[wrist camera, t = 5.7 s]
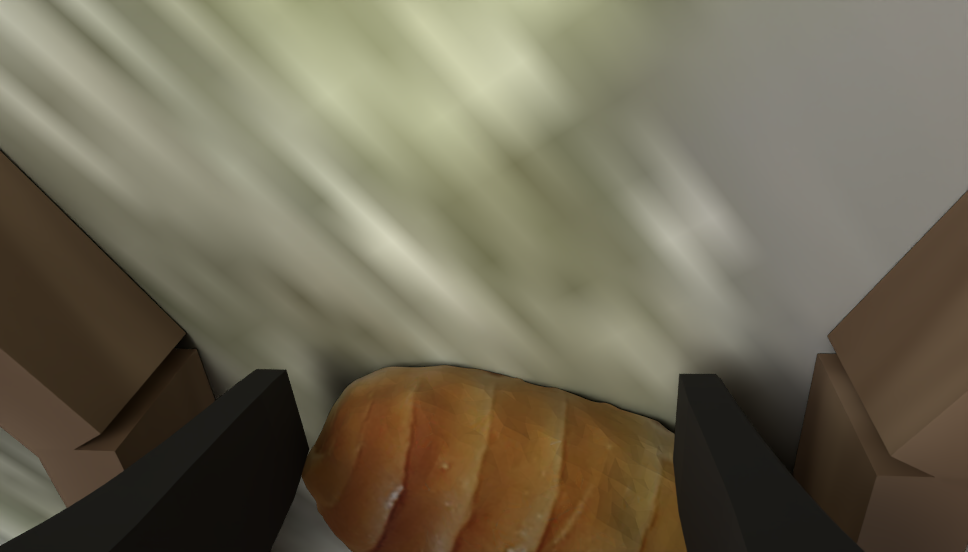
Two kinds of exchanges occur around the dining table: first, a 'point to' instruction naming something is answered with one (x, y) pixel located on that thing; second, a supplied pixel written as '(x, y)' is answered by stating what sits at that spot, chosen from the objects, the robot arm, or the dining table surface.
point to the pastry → (490, 468)
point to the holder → (186, 392)
